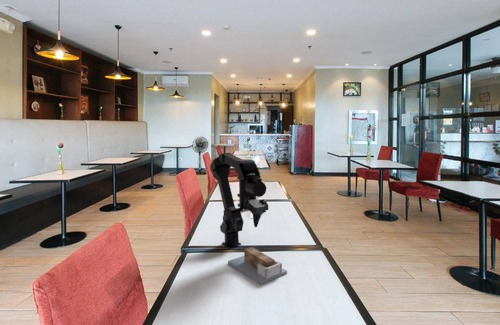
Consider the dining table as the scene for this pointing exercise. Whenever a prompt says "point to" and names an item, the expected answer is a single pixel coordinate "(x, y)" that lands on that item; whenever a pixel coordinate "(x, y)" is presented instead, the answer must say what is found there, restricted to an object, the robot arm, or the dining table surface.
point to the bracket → (262, 273)
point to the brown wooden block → (257, 258)
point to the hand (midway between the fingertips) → (246, 229)
